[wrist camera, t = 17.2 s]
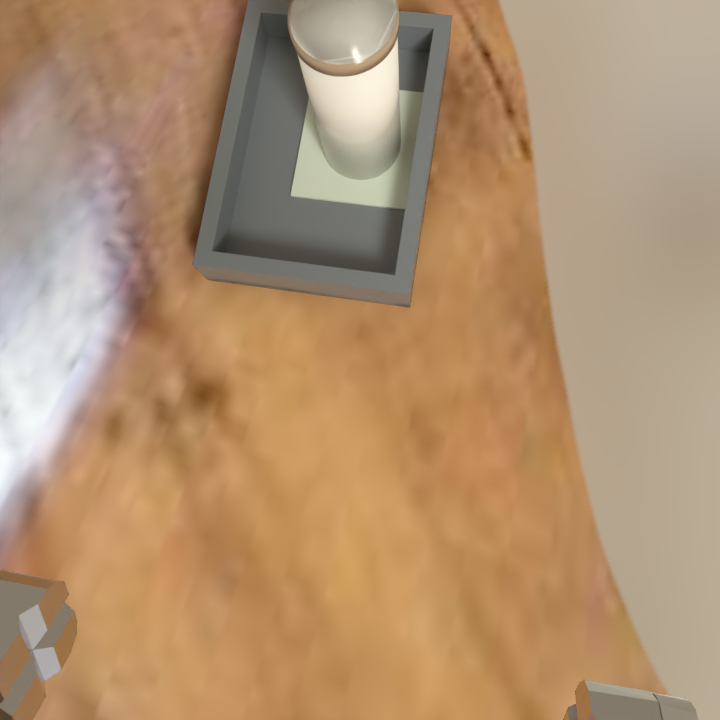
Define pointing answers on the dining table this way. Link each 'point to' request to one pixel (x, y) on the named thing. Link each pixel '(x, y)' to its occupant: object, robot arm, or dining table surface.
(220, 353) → the dining table surface
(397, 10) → the tube
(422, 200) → the tray
